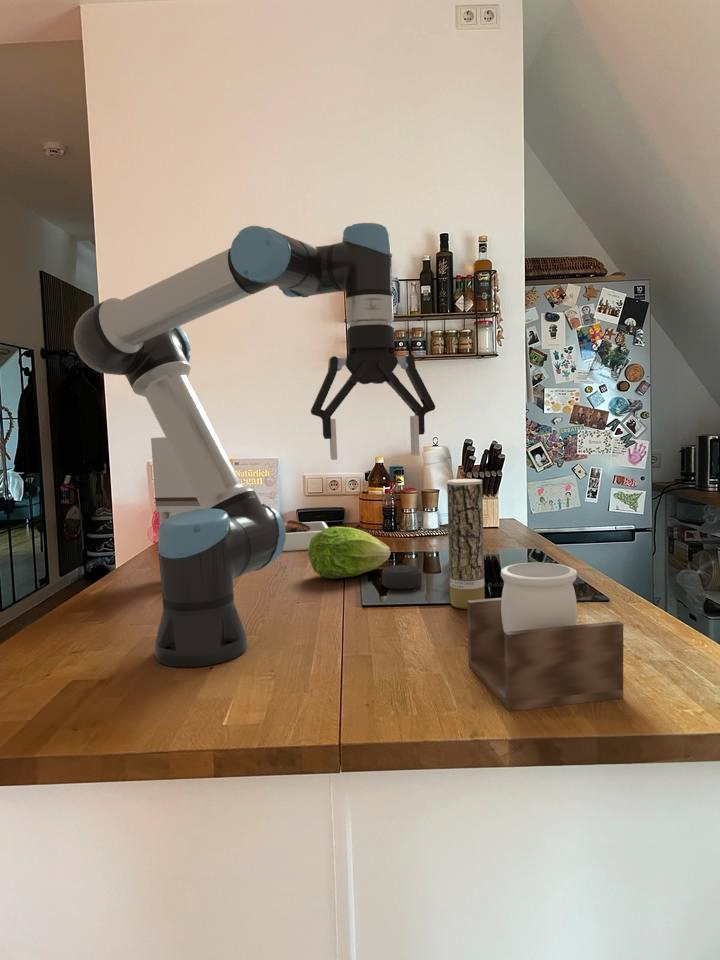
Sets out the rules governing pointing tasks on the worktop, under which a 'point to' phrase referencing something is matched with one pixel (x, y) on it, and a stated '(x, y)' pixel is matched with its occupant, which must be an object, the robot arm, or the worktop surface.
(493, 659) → the holder
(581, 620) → the worktop surface
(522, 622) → the jar
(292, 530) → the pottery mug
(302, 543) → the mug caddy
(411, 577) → the smart speaker
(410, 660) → the worktop surface
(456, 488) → the paper tube
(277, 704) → the worktop surface
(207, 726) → the worktop surface
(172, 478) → the display case
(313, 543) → the lettuce
